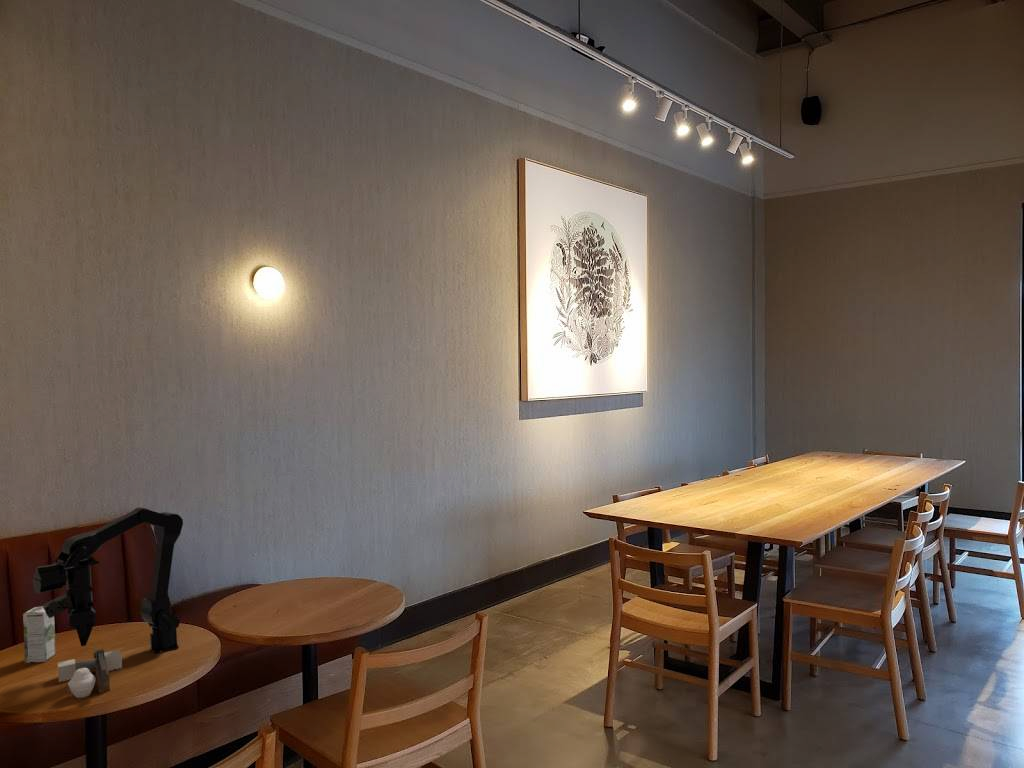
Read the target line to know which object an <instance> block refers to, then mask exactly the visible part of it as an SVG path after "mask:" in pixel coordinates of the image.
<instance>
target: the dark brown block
mask: <svg viewBox="0 0 1024 768" xmlns="http://www.w3.org/2000/svg"><path fill="white" fill-rule="evenodd" d="M100 649H101V648H100ZM100 649H98V650H100ZM96 650H97V649H94V650H93V651H92V652H93V659H95V658H96ZM104 662H105V666H106V674H107V677H104V678H102V675H101V670H100V665H99V660H97V659H95V667H96V670H95V677H97V678H96V682H97V683H96V684H97V687H98V691H99V693H100V692H101V693H103V692H104V693H105V692H109V691H111V686H110V685H111V684H110V683H111V682H110V673H109V672H110V671H108V667H107V663H106V659H105V657H104ZM108 690H109V691H108ZM101 693H100V694H101Z"/></svg>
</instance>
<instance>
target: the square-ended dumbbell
mask: <svg viewBox="0 0 1024 768" xmlns="http://www.w3.org/2000/svg"><path fill="white" fill-rule="evenodd" d="M122 656H123V655H122V651H121V649H116V650H110V651H107V652H104V657H105V659H106V663H107V667H108V670H111V671H115V670H114V669H116V670H120V669H123V659H122V658H123V657H122ZM95 659H96V658H95ZM95 659H94V658H90V659H87V660H82V661H76V659H75V658H73V659H69V660H64V661H58V662H57V672H58V673H57V674H58V675H57V676H58V682H59V683H62V682H65V681H66V682H67V681H70V679H72V677H73V676H74V672H75V671H76V670H78V669H81V668H88V669H89V670H90V672H92V671H96V667H95ZM119 668H120V669H119ZM61 681H62V682H61Z"/></svg>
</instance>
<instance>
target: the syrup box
mask: <svg viewBox="0 0 1024 768" xmlns="http://www.w3.org/2000/svg"><path fill="white" fill-rule="evenodd" d="M22 617H23V619H22V620H23V642H24V643H23V645H24V663H25V664H31V663H30V662H36V663H44V662H48V660H50V659H52V658H53V657H54V656H56V648H57V647H56V630H55V629H56V628H55V627H56V625H55V616H54V617H51V618H48V616H47V614H46V612H45V610H44V608H43V606H42V605H41V606H36V607H32V608H31V609H29V610H27V611H26V612H24V613H23V614H22Z"/></svg>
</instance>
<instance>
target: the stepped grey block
mask: <svg viewBox="0 0 1024 768" xmlns="http://www.w3.org/2000/svg"><path fill="white" fill-rule="evenodd" d="M95 650H96V659H97V660H99V665H100V670H101V675H102V678H104V677H107V674H106V666H105V662H104V653H105V650H104V648H100V650H99V649H95Z"/></svg>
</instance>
